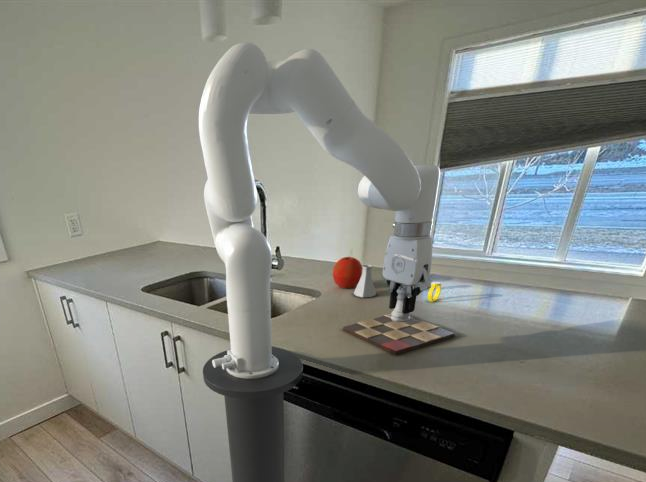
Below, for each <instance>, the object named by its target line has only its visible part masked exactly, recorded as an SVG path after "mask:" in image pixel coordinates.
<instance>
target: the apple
mask: <svg viewBox="0 0 646 482" xmlns="http://www.w3.org/2000/svg"><path fill="white" fill-rule="evenodd" d="M362 266H363V265H362V263H361V261H360V260H359V259H357V258H356V257H352V256H350V255H348V256H344V257H341V258H340V259H339V260H337V261H336V263H335V264H334V265H333V271H332V278H333V281H334V284H336V285H337V286H338V287H339V288H342V289H353V288H355V287H357V285H358V283H359V281H360V278H361V276H362V272H363V268H362Z"/></svg>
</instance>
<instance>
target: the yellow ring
mask: <svg viewBox="0 0 646 482" xmlns="http://www.w3.org/2000/svg"><path fill="white" fill-rule="evenodd" d="M430 284H431V288H429V289H428V292H427V301H428V302H431V303H434V302H436V301H437V300H438V299H439V298H440V295H441V291H442V282H441V281H432V282H430ZM433 295H434V296H433Z"/></svg>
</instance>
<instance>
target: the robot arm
mask: <svg viewBox="0 0 646 482" xmlns="http://www.w3.org/2000/svg"><path fill="white" fill-rule="evenodd" d="M291 113H295V114H296V116H297V117H298V118H299V119H300V120H301V122H302V123H303V124H304V126H305V127H306V128H307V129H308V131H309V132H310V133H311V135H312V136H313V138H314V139H315V140H316V141H317V142H318V144H319V145H320V146H321V148H322V149H323V151H325V152H326V153H327V154H329V155H330V156H332V158H335V160H338V161H340V162H343V163H345V164H348V166H351V167H353V168H354V169H355V170H357V171H359V172H360V173H361V174H362V175H363V177H362V178H361V179H360V181H359V183H358V187H357V195H358V198H359V200H360V202H361V203H363V204H364V205H365V206H367V207H370V208H373V209H379V210H386V211H391V212H395V215H394V216H395V217H394V222H393V223H392V228H393V234H391V235H390V236H389V239H388V242H387V246H386V248H385V253H384V259H383V265H382V266H383V267H382V274H381V275H382V278H383V279H384V281H385V282H386V285H387V286H388V291H389V293H390V296H389V303H388V309H390V310H394V309H395V307H396V304H397V296H398V293H397V290H398V289H399V286H407V297H404V302H403V309H402V313H404V314H406V313H410V314H411V313H413V312H414V311H415V308H416V301H417V296H420V294H421V293H422V292H425V291H427V290H429V289H430V288H431V286H432V285H431V281H430V275H431V270H432V261H433V236H431V235H432V234H431V233H432V227H433V222H434V215H435V209H436V202H437V197H438V190H439V184H440V177H441V169H440V167H439V166H438V165H435V164H423V165H414V163H413V162H412V159H410V157H409V156H408V153H406V151H405V150H404V149H403V147H402V146H401V145H400V144H399V143H398V142H397V141H396V140H395V139H394V138H393V137H392V136H391V135H390V134H389V133H387V132H386V131H384V130H383V129H382V128H381V127H380V126H378V125H377V123H375V122H374V121H373V120H371V119H370V118H368V117H367V116H366V115H365V114H364V113H363V112H362V110H361V109H360V108H359V106H358V105H357V104H356V102H355V100H354V99H353V97H352V96H351V95H350V93H349V92H348V90H347V89H346V87H345V86H344V84H343V82H342V81H341V80H340V78H339V77H338V75H337V74H336V72H335V71H334V70H333V68H332V66H330V64H329V63H328V61H327V60H326V59H325V57H324V56H323V55H322V54H321V53H320V52H319V51H317V50H315V49H314V48H313V49H312V48H305V49H301V50H299V51H296V52H294V53H293V54H291V55H290V56H288V58H286V59H281V60H267V58H266V56H265V54H264V52H263V51H262V49H261V48H260V47H259V46H258V45H256V44H254V43H252V42H248V41H243V42H239V43H237V44H234V45H232V46H231V47H230V48H229V49H228V50H226V52H225V53H224V54H223V55H222V56H221V57H220V58H219V60H218V61H217V63H216V64H215V66H214V67H213V69H212V70H211V72H210V73H209V75H208V77H207V80H206V83H205V85H204V88H203V91H202V95H201V98H200V103H199V109H198V133H199V134H198V135H199V140H200V146H201V151H202V157H203V162H204V166H205V171H206V175H207V176H206V177H207V179H206V182H205V184H204V189H203V200H204V206H205V210H206V214H207V219H208V223H209V226H210V231H211V235H212V238H213V243H214V246H215V250H216V253H217V255H218V257H219V258H220V260H221V261H222V262H223V264H224V266H225V292H226V294H225V295H226V307H227V317H228V318H227V319H228V329H229V340H230V341H229V344H230V349H231V350H230V349H227V350H228V351H227V355H225V356H224V357H223V358H218V359H214V360H212V364H213V367H214V368H216V367H220V366H222V369H223V370H224V369H226V370H227V372H228V373H229V374H231V375H233V376H235V377H238V378H244V379H256V378H262V377H266V376H268V375H271V374H272V373H274V372H275V371H276V370H277V369H278V366H279V362H278V359H277V358H276V357H275V356H273V355H272V347H273V346H272V345H273V344H272V311H271V310H272V309H271V275H272V267H273V266H272V265H273V252H272V246H271V243H270V242H269V240H268V238H267V237H266V235H265V234H264V233H263V232H261V231H260V230H259V229H257V228H255V226H254V223H253V218H252V215H253V214H254V212H255V211H256V207H257V204H258V190H257V185H256V180H255V175H254V171H253V166H252V160H251V154H250V147H249V139H248V120H249V115H250V114H253V115H255V114H256V115H282V114H291Z"/></svg>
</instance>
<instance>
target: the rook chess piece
mask: <svg viewBox="0 0 646 482" xmlns="http://www.w3.org/2000/svg"><path fill="white" fill-rule="evenodd" d="M397 293H398V296H397V304H396V307H395V308H394V309H393V310H392V311H391V312H390V313H391V315H392V316H391V319H392V320H393V321H395V322H407V321H408V320H409V319H410V317H411V312H410V313H406V314H404V313H402V309H403V302H404V297H407V285H402V286H399V289H398V290H397ZM409 316H410V317H409Z"/></svg>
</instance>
